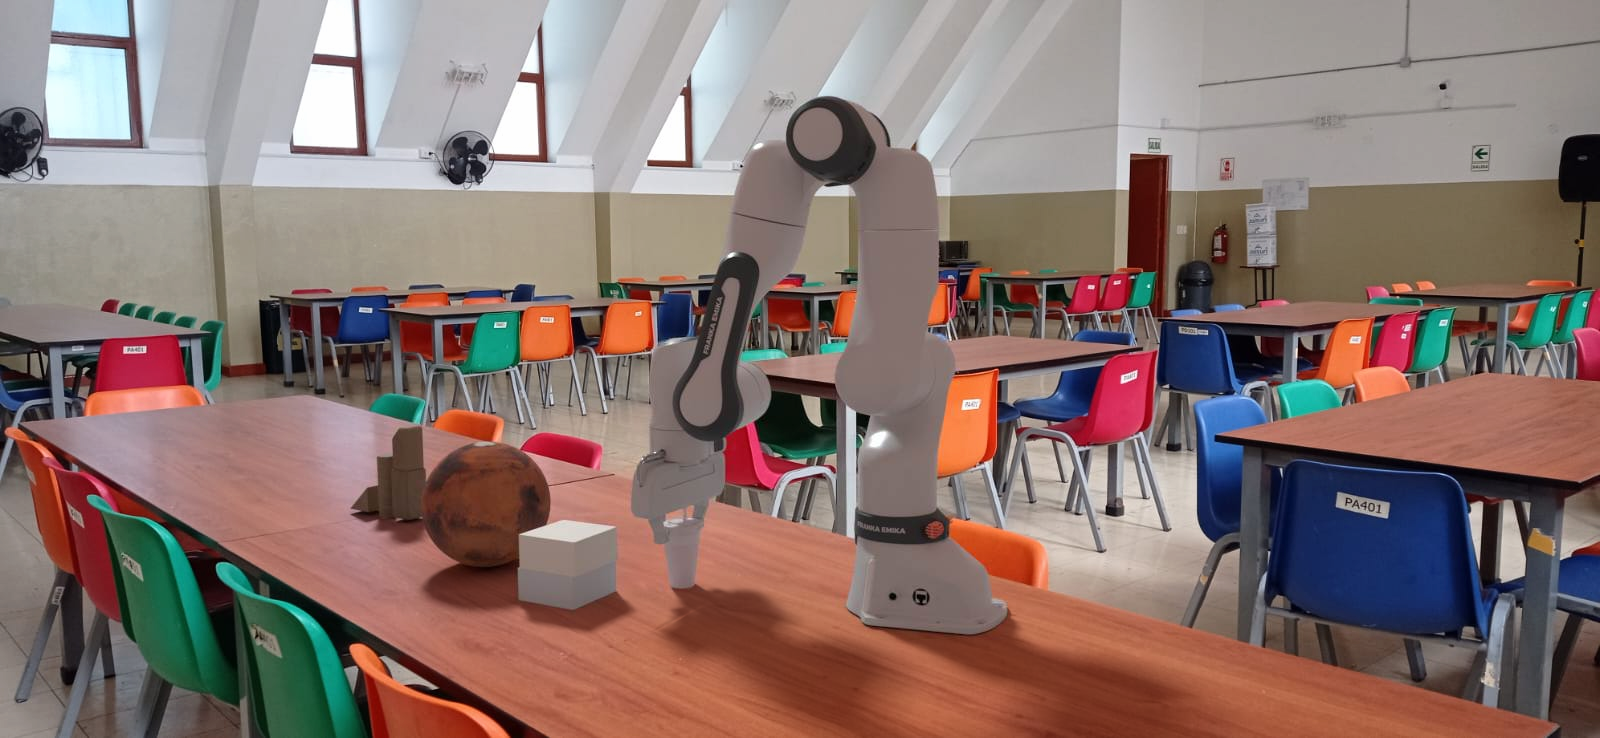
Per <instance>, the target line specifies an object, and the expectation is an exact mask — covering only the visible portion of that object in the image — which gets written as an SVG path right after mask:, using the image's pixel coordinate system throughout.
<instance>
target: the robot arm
mask: <svg viewBox="0 0 1600 738" xmlns="http://www.w3.org/2000/svg"><path fill="white" fill-rule="evenodd" d="M787 123H788V124H787V127H786V131H785V132H786V133H785V140H782V139H781V140H780V139H770V140H764V141H761V142H759V143H757V144H755V145H754V146H753V147H751V149H750V150H749V152H748V154H747V155H746V159H745V161H744V163H743V165H742V169H741V170H740V174H739V176H738V180H737V183H736V186H735V190H734V194H733V197H732V203H731V207H730V211H729V212H730V213H729V218H728V222H727V227H726V233H725V237H724V242H723V247H722V251H721V256H720V259H719V263H718V267H717V271H716V272H715V277H714V279H713V282H712V286H711V290H710V291H709V292H710V293H709V296H708V299H707V304H706V308H705V311H704V316H703V318H702V323H701V326H700V330H699V333H698V334H699V335H698V336H689V337H688V336H687V337H683V338H676V339H671V340H666V341H663V342H660V343H659V344H657V346H655V347H654V349H653V352H652V354H651V359H650V366H649V368H650V369H649V378H648V379H649V383H648V387H649V388H648V398H649V403H650V405H651V415H650V420H649V425H648V427H649V429H648V431H649V432H648V433H649V436H648V437H649V441H648V442H649V444H648V445H649V453H646V454H644V455H642V457H641V459H640V460H639V462H638V463H637V465H636V468H635V471H634V473H633V477H632V487H631V495H630V497H631V498H630V510H631V514H632V515H633V517H634V518H637V519H641V520H642V519H643V520H648V521H647V522H648V524H649V526H650V528H651V530H652V532H653V543H654V544H656V545H664V543H667V542H669V531H666V530H665V526H664V523H663V522H665V521H666V520H667V519H666V518H667V517H666V516H667V515H668V514H671V513H675V512H676V511H679V510H683V508H685V507H686V508H689V507H690V506H694V507H693V510H692V511H693V512H692V515H691V517H690V518H694V519H698V520H701V521H702V527H703V528H704V527H705V516H706V515H707V511H708V508H709V506H710V504H709V503H710V502H709V501H710V499H712V498H716V497H718V496H721V495H722V493H723V491H724V488H725V484H726V483H725V480H726V457H725V454H724V453H723V452H725V451H726V448H727V439H726V437H727V436H729V435H730V434H732V433H734V432H735V431H736V430H740V429H742V428H744V427H746V426H747V425H750V424H752V423H753V422H755V421H757V420H759V418H762V416H764V415H765V413H766V412H767V411H768V409H769V408H770V406H771V402H772V397H773V396H772V385H771V383H770V382H771V381H770V379H769V377H768V376H767V375H766V373H765V372H764V371H763V369H762V368H760V367H759V366H757V365H756V364H754V363H751V362H747V361H745V360H744V361H743V360H742V359H741V358H742V354H743V352H744V351H743V350H744V347H745V342H746V340H747V335H748V330H749V327H750V323H751V320H752V317H753V316H754V315H753V314H754V313H755V310H756V308H757V307H758V305H759V303H760V302H761V301H762V299H763V298H764V297H765V296H766V295H767V293H769V292H770V291H771V290H772V289H773V288H775V286H776V285H778V284H779V283H780V282H781V281H783V280H785V279H786V278H787V276H788V275H790V274H791V272H792V271H793V270H794V268H795V265H796V263H797V261H798V259H799V255H800V254H801V250H802V248H803V244H804V240H805V235H806V231H807V226H808V219H809V215H810V209H811V206H812V202H813V199H814V197H815V195H816V193H817V192H818V191H819V190H820V189H821V188H822V187H823V186H824V187H826V188H831V187H833V188H834V187H840V186H849V187H850V188H851V189H852V191H853V192H854V194H855V197H856V201H857V211H858V213H857V215H858V216H857V218H858V219H857V221H858V223H857V230H858V232H857V236H858V237H857V285H856V287H857V288H856V294H855V295H856V296H855V302H854V308H853V312H852V316H851V317H852V318H851V323H850V327H849V332H848V335H847V340H846V345H845V347H844V350H843V352H842V355H841V356H840V357H839V359H838V361H837V364H836V367H835V371H834V383H835V385H834V386H835V389H836V391H837V394H838V396H839V398H840V400H841V401H842V402H843V403H844V404H845V405H846V406H847V407H848V408H850V410H852V411H854V412H856V413H858V414H863V415H867V416H870V417H869V421H868V425H867V428H866V429H867V430H866V434H865V436H864V439H863V441H862V442H861V446H860V448H859V451H858V455H857V460H858V461H857V506H856V507H855V509H854V521H853V523H854V525H853V527H854V528H853V529H854V530H853V531H854V543H855V545H856V549H855V550H856V551H855V559H854V566H853V567H854V569H853V575H852V580H851V585H850V588H849V593H848V596H847V599H846V603H845V605H846V608H847V609H848V610H849V612H852V613H853V614H855V615H856V616H858V617H859V618H860V619H861V622H862V623H863V624H865V625H868V626H875V627H887V628H895V629H896V628H897V629H907V630H916V631H918V630H919V631H926V632H927V631H929V632H939V633H948V634H949V633H950V634H952V633H953V634H962V635H976V634H980V633H984V632H988V631H989V630H991V629H994V628H995V627H997V626H998V625H1000V624H1001V623H1002V622H1003V621H1004V620H1005V619H1006V617H1007V615H1008V605H1007V603H1006V602H1005V600H1003V599H999V598H997V597H996V598H995V597H993V596H992V590H991V581H990V578H989V573H988V571H987V568H986V566H984V565H983V564H982V563H981V562H980V561H979V560H977V559H976V558H975V557H974V556H972V554H970V553H969V552H968V551H967V550H966V549H964V547H962V546H961V545H960V544H959V543H958V542H956V541H955V540H954V539H953V538H952V537H950V525H951V524H952V523H953V522H954V521H953V517H954V515H953V514H949V515H948V516H947V515H945V514H944V513H943V512H942V511H941V510H940V509H939V508H938V507H937V505H938V502H937V500H938V499H937V498H938V497H937V496H938V459H939V457H938V456H939V448H940V440H941V436H942V435H941V434H942V430H943V425H944V420H945V415H946V408H947V402H948V396H949V390H950V387H951V384H952V381H953V380H954V377H955V374H956V368H957V367H956V366H957V365H956V359H955V358H956V357H955V354H954V352H953V350H952V348H951V347H950V345H949V343H947V341H945V340H944V339H943V338H941V337H940V336H938V335H936V334H934V333H933V332H929V331H927V330H928V329H927V328H928V324H929V323H928V322H929V317H930V313H931V310H932V305H933V302H934V299H935V297H936V295H937V292H938V290H939V283H940V282H939V278H940V277H939V276H940V275H939V274H940V273H939V270H940V269H939V265H940V262H939V261H940V259H939V258H940V255H939V254H940V249H939V248H940V244H939V242H940V238H939V237H940V231H939V230H940V223H939V216H940V215H939V202H938V194H937V187H936V181H935V180H936V179H935V175H934V171H933V170H934V169H933V167H932V163H931V162H930V161H929V159H928V158H927V157H926V156H925V155H924V154H922V153H920V152H919V151H915V150H913V149H909V148H905V147H904V148H903V147H892V146H891V145H892V144H891V137H890V133H889V131H888V129H887V127H886V125H885V124H884V123H883V121H882V120H881V119H880V118H879V117H878V116H877V115H876V114H874V113H873V112H870V111H869V110H867V109H866V108H865V107H863V106H862V105H860V104H859V103H857V102H853V101H852V100H847V99H843V98H840V97H839V96H832V95H823V96H818V97H817V96H816V97H813V98H810V99H809V100H807V101H806V100H805V102H804V103H801V104H800V105H799V106H798V107H797V108H796V109H795V110H794V112H792V115H791V116H790V118H789V121H788V122H787Z"/></svg>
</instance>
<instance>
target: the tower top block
mask: <svg viewBox="0 0 1600 738" xmlns="http://www.w3.org/2000/svg"><path fill="white" fill-rule="evenodd" d="M618 557H619V556H618V527H617V526H612V525H605V524H598V523H597V524H596V523H589V522H583V521H577V520H576V521H575V520H568V519H567V520H566V519H561V520H558V521H556V522H552V523H549V524H547V525H546V526H543V527H540V528H537V529H534V530H531V531H528V532H525V533H522V534H519V558H518V559H519V568H521V569H527V570H533V571H539V572H546V573H552V574H558V575H564V576H571V577H577V576H579V575H582V574H584V573H587V572H589V571H592V570H594V569H596V568H599V567H601V566H604V565H606V564H609V563H611V562H614V561H616V562H617V561H618Z"/></svg>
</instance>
